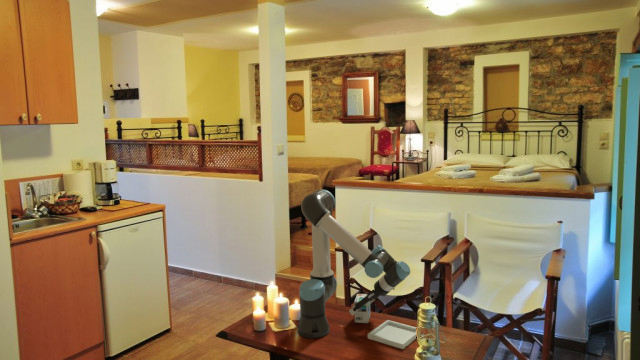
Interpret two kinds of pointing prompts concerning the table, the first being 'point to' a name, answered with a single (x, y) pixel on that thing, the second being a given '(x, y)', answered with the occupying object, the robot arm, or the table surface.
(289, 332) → the table surface
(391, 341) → the tray
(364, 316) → the light bulb box
